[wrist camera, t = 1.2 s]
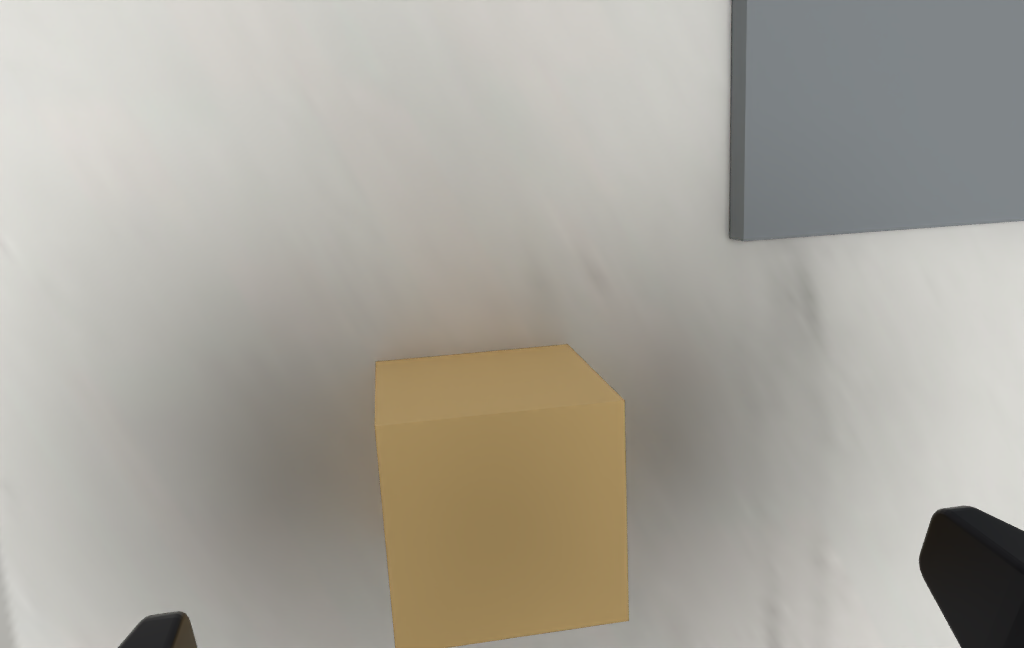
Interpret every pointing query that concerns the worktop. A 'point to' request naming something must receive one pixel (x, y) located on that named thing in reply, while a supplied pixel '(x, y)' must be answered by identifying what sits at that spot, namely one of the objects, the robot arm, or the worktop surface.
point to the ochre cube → (501, 495)
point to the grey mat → (875, 115)
